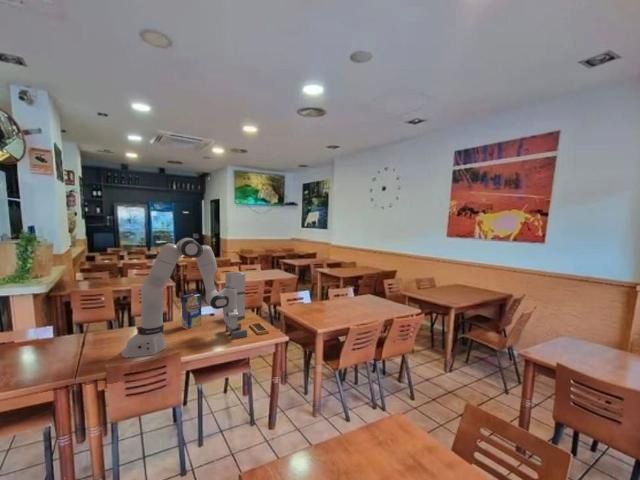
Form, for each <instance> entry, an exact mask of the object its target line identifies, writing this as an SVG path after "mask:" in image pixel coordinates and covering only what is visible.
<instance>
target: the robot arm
mask: <svg viewBox="0 0 640 480" xmlns="http://www.w3.org/2000/svg"><path fill="white" fill-rule="evenodd" d="M182 256H184V257H185V258H189V259H190V258H193V259H194V258H195V260H196V264H197V268H198V270H199V272H200V274H201V278H202V282H203V285H204V286H203V287H204V290H205V291H204V302H205V304H207V305H208V306H210V307H211V308H213V309H214V310H219V309H222V313H223V321H224V322H225V323H226V325H227V326H228V332H229V333H230V332H232V329H236V328H237V323H238V320H237V316H238V312H237V304H236V302H237V292H236V289H235V288H233V287H225V286H224V288H222V289H221V290H220V291H218V290H217V288H216V286H215V285H216V284H215V280H214V276H215V274H216V273H217V272H218V264H217V259H216V257H215V254H214V251H213V249H212V247H211V246H209V245H206V244H205V245H201V244H200V243H199V242H197V240H196V239H193V238H191V237H182V238H180V239H179V240H178V241H176V242H175V243H170V242H169V243H165V244H164V245H162V247H161V249H160V251H159V252H158V254H157V256H156V258H155V260H154V262H153V264H152V267H151V269H150V271H149V273H148V274H147V276H146V279H145V280H144V282H143V283H142V286H141V288H140V297H141V299H140V301H141V302H140V303H141V305H140V306H141V307H140V308H141V310H140V311H141V312H140V313H141V316H140V317H141V318H140V321H141V323H140V324H141V325H136V330H137V331H136V334H134V335H133V336H131V338H129V339H128V341H127V343H126V345H125V346H126V347H124V348H123V349H122V350H121V353H120V354H121V357H122V356H123V358H124V357H125V359H126V358H127V359H128V357H129V358H137V357H146V356H153V355H157V353H159V352H161V351H163V350H165V349H166V347H167V345H166V342H165V337H164V333H165V326H164V322H163V321H164V315H163V312H164V311H163V310H164V288H165V286H166V284H167V283H168V280H169V279H170V278H171V277H172V275H173V272H174V269H175V267H176V265H177V262H178V260H179V258H181V257H182Z"/></svg>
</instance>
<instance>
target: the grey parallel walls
mask: <svg viewBox="0 0 640 480" xmlns="http://www.w3.org/2000/svg"><path fill="white" fill-rule="evenodd" d="M237 325H238V326H239V327H240V331H234V332H231V333H230V338H231V340H233V339H239V338H245V337H248V330H247V329H242V324H241V322H237ZM225 332H226V333H227V332H229V331H228V326H227V324H225Z"/></svg>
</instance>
